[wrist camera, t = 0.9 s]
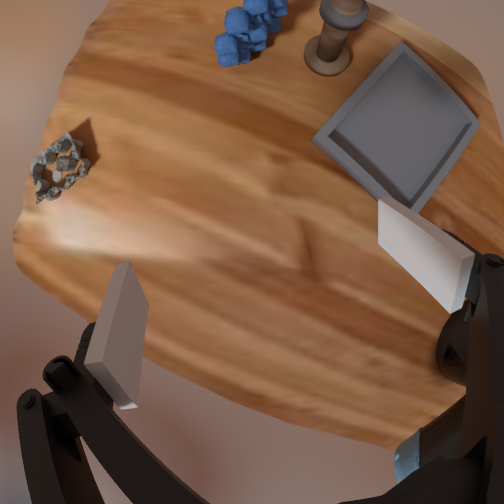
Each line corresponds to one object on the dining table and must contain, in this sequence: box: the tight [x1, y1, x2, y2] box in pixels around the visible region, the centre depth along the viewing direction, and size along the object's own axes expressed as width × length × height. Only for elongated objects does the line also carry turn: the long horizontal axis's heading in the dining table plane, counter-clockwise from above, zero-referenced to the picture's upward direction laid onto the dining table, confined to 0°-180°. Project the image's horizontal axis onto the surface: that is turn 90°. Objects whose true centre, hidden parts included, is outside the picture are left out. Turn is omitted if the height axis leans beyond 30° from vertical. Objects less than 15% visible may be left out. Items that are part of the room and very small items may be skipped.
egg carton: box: [30, 132, 91, 204], centre depth 38 cm, size 11×8×4 cm
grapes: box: [215, 0, 288, 67], centre depth 29 cm, size 12×7×12 cm, turn 136°
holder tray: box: [311, 41, 481, 214], centre depth 34 cm, size 16×20×3 cm
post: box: [304, 0, 369, 76], centre depth 27 cm, size 6×6×16 cm
